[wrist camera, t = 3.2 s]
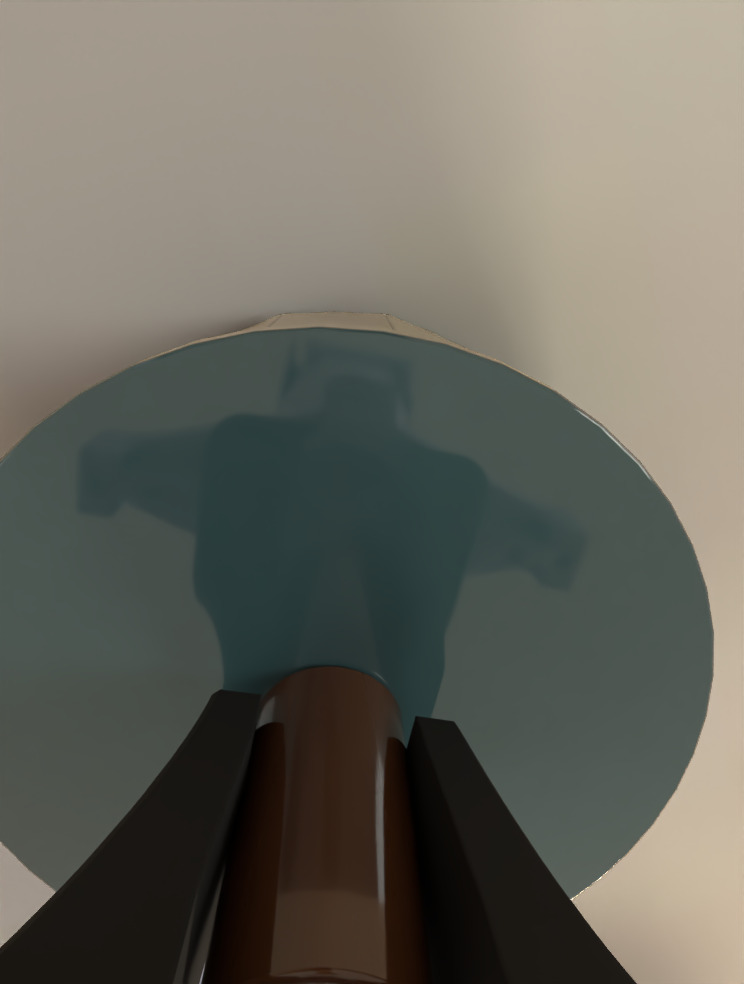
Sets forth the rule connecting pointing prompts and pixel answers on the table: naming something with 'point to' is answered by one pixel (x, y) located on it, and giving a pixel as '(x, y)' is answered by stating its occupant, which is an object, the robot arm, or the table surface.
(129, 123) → the table surface
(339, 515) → the pot lid
